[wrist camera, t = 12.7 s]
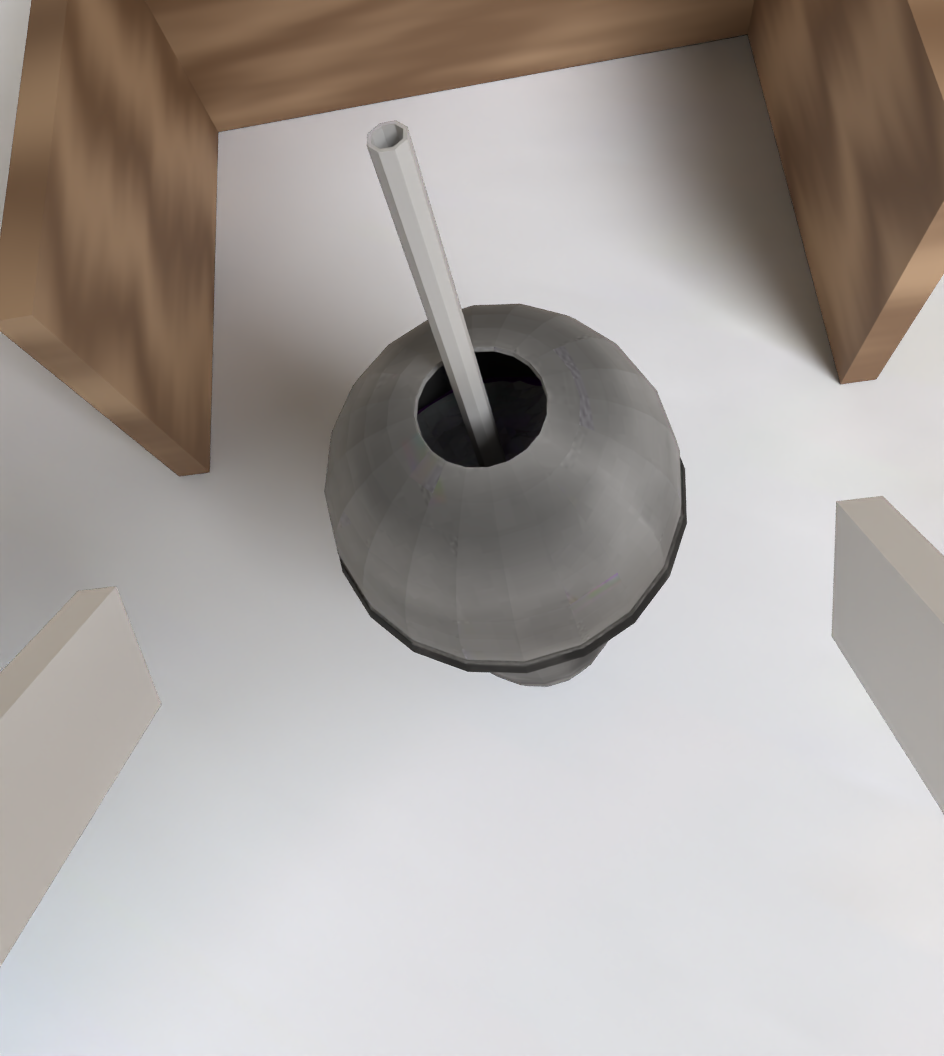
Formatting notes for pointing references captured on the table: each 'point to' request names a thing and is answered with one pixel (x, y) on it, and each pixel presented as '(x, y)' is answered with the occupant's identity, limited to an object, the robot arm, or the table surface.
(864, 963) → the table surface
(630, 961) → the table surface
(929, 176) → the open-sided wooden shelf
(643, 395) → the beverage cup
